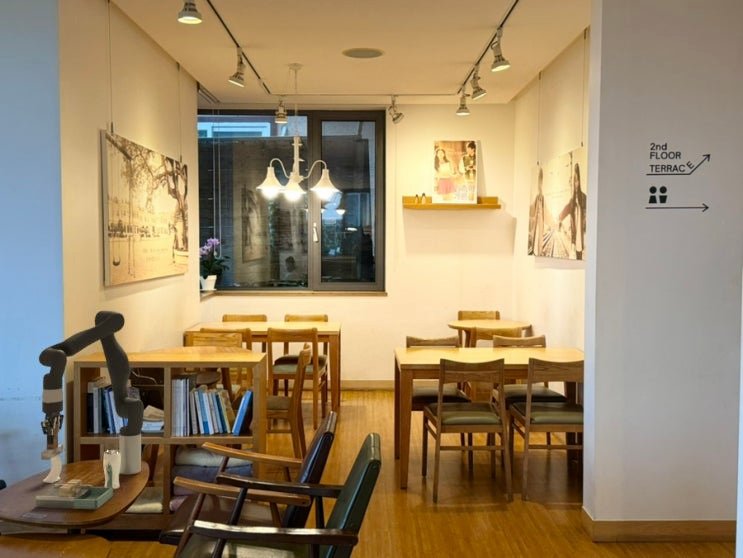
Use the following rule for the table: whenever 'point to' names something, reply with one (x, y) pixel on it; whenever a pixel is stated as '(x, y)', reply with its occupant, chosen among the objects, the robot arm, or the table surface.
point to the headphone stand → (54, 470)
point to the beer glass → (112, 468)
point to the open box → (61, 498)
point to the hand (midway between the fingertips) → (52, 442)
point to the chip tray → (94, 498)
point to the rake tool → (52, 447)
